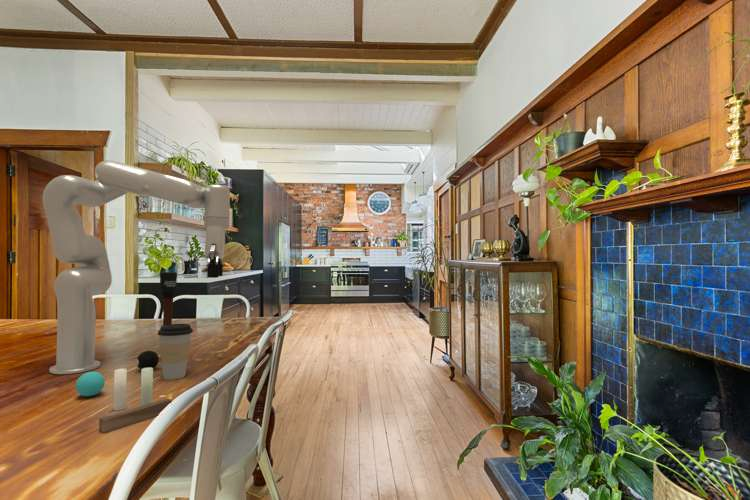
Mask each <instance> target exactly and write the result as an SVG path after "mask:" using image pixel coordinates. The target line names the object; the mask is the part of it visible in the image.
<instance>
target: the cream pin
mask: <svg viewBox="0 0 750 500" xmlns="http://www.w3.org/2000/svg"><path fill="white" fill-rule="evenodd" d="M113 371H114V378H113V410H112V411H115V412H117V411H118V412H119V411H124V410H125V409H126V404H127V402H126V401H127V373H128V369H127V368H117V369H115V370H113Z"/></svg>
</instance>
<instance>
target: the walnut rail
mask: <svg viewBox="0 0 750 500" xmlns="http://www.w3.org/2000/svg"><path fill="white" fill-rule="evenodd" d="M172 401H173V400H172V399H170V398H167V397H166V398H163V399H160V400H156V401H152V403H149V404H146V405H143V406H140V405H139V406H136V407H134V408H129V409H126V410H122V411H120V412H119V411H118V412H117V413H114V414H110V415H107V416H106V415H105V416H104V417H100V418H99V419H98V420H99V421H98V423H99V424H98V425H99V427H98V431H99V432H101V433H103V434H105V433H108V432H109V433H110V432H113V431H115V430H117V429H118V430H119V429H121V428H124V427H127V426H130V425H133V424H136V423H140V422H142V421H145V420H148V419H152V418H154V417H157V415H158V414H159V413H160V412H161V411H162V410H163V409H164V408H165V407H166V406H167V405H168V404H169V403H171V402H172ZM158 416H159V415H158Z"/></svg>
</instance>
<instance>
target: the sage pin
mask: <svg viewBox="0 0 750 500" xmlns="http://www.w3.org/2000/svg"><path fill="white" fill-rule="evenodd" d="M140 371H141V373H140V376H141V377H140V405H139V406H143V405H146V404H149V403H153V385H154V369H153V368H151V367H149V368H143V369H141V370H140Z"/></svg>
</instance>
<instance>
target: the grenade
mask: <svg viewBox="0 0 750 500" xmlns="http://www.w3.org/2000/svg"><path fill="white" fill-rule="evenodd" d="M159 275H160V276H159V278H160V279H159V290H158V292H159V293H161V295H162V296H161V297H162V313H163V317H162V319H163V320H162V326H164V325H169V324H173V322H172V321H173V320H172V318H173V317H172V316H173V309H174V298H175V297H174V296H175V292H178V289H177V288H178V285H177V284H178V282H177V281H178V273H177V272H175V271H163V272H160V274H159Z"/></svg>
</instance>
